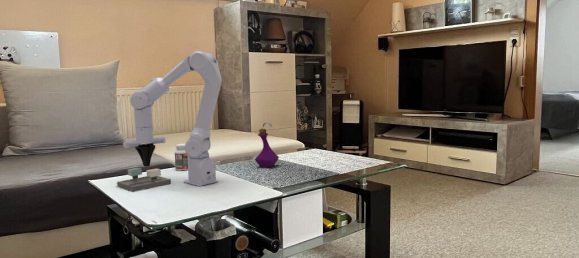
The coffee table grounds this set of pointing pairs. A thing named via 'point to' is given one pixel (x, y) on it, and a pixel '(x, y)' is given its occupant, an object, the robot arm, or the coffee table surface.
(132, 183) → the mixer panel
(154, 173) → the cream fader
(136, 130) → the robot arm
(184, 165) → the pill bottle
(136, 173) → the teal fader
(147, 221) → the coffee table surface
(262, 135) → the perfume bottle
